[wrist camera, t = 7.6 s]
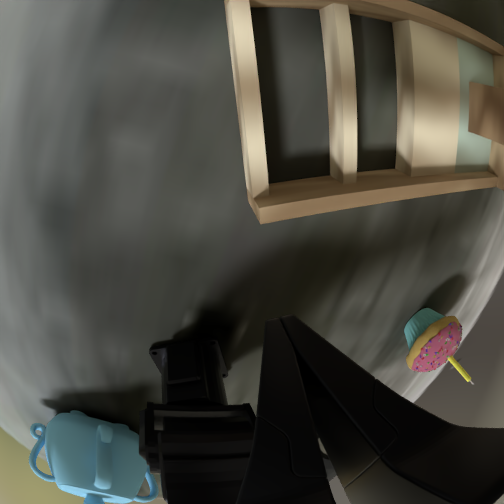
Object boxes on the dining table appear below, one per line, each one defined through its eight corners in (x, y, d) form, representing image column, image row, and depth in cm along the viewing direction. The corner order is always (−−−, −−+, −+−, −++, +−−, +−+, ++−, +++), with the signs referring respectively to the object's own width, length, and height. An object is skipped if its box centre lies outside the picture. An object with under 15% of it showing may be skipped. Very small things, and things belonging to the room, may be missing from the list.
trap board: (479, 173, 22) (513, 192, 18) (248, 201, 19) (267, 236, 15) (483, 47, 15) (522, 53, 11) (223, -5, 12) (237, -36, 7)
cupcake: (449, 296, 32) (501, 356, 22) (419, 341, 36) (460, 400, 26) (413, 296, 29) (473, 370, 19) (380, 347, 33) (424, 419, 23)
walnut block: (491, 134, 18) (523, 147, 14) (467, 131, 17) (503, 145, 14) (493, 89, 15) (526, 99, 12) (469, 81, 15) (506, 89, 11)
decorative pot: (78, 443, 35) (77, 509, 24) (26, 399, 26) (13, 482, 15) (160, 445, 37) (169, 518, 26) (123, 402, 29) (124, 505, 17)
